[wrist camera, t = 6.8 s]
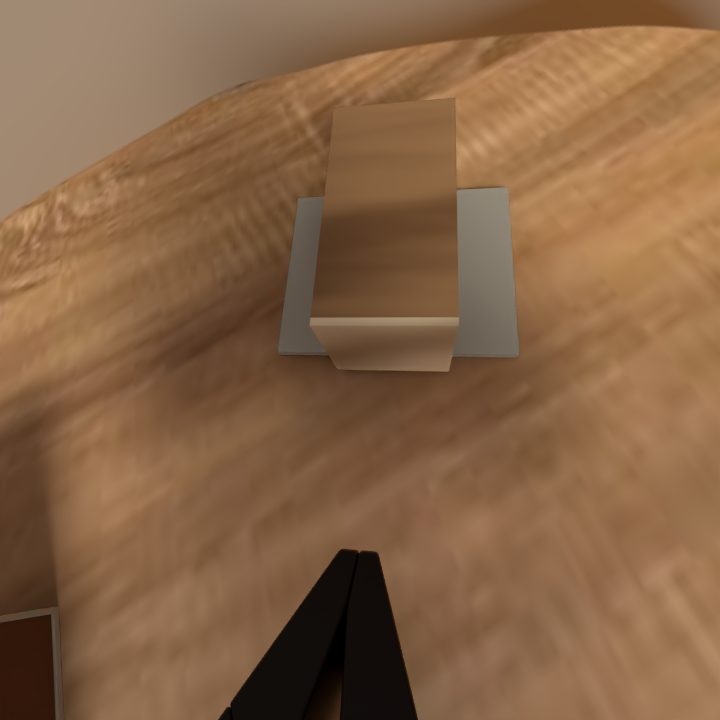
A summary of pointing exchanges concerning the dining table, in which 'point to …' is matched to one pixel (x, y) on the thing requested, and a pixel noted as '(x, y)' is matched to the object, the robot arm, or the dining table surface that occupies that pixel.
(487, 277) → the mat
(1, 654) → the food container
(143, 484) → the dining table surface
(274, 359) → the dining table surface
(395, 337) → the walnut block
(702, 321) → the dining table surface
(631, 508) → the dining table surface
